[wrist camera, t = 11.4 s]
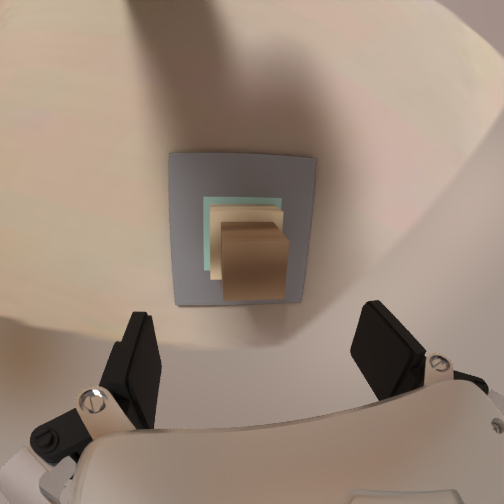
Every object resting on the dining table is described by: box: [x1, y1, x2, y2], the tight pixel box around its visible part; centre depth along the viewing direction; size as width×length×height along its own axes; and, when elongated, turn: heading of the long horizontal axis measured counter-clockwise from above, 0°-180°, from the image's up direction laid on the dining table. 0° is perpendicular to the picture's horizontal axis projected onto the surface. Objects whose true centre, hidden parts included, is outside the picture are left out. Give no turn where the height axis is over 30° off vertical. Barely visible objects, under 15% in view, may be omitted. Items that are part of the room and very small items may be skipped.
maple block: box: [210, 204, 284, 280], centre depth 29 cm, size 7×7×4 cm
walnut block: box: [221, 222, 289, 301], centre depth 24 cm, size 5×5×6 cm
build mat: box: [169, 153, 317, 305], centre depth 31 cm, size 18×16×1 cm
